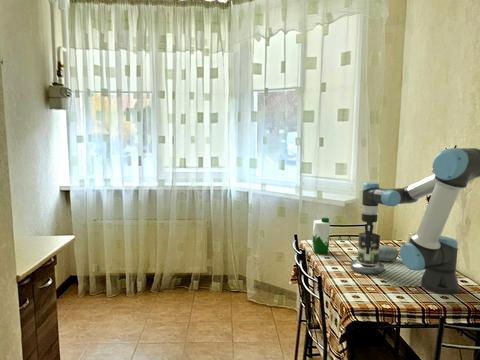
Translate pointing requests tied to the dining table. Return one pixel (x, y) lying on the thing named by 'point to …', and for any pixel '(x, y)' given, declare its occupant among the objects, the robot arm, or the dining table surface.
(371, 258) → the coffee can
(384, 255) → the gray rounded cylinder
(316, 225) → the milk carton
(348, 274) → the dining table surface
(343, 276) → the dining table surface
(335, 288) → the dining table surface
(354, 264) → the plate
